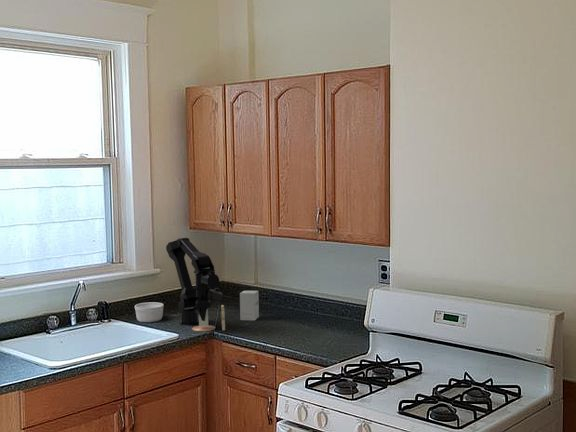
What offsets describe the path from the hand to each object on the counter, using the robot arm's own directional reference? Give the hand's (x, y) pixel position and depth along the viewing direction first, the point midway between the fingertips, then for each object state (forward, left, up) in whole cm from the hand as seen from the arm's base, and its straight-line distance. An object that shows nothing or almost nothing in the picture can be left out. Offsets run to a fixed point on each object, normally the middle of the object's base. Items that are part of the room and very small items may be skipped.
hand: (203, 319), depth 327 cm
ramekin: (-34, +8, -4) cm, 35 cm away
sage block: (0, 0, -2) cm, 2 cm away
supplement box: (+10, +24, -4) cm, 27 cm away
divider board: (+7, +4, -4) cm, 9 cm away
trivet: (0, 0, -4) cm, 4 cm away
